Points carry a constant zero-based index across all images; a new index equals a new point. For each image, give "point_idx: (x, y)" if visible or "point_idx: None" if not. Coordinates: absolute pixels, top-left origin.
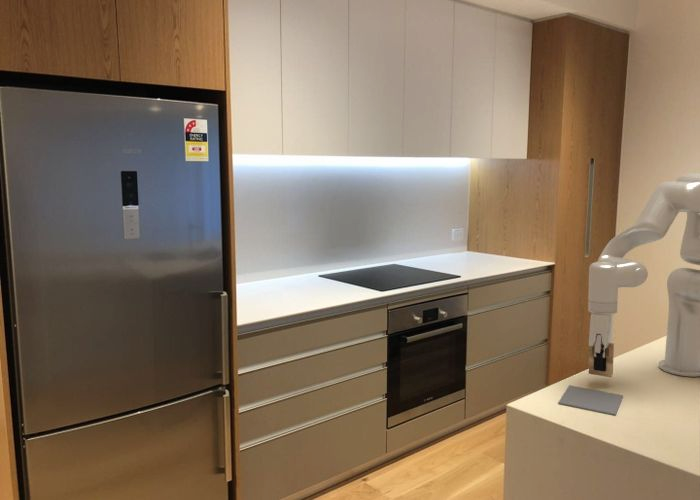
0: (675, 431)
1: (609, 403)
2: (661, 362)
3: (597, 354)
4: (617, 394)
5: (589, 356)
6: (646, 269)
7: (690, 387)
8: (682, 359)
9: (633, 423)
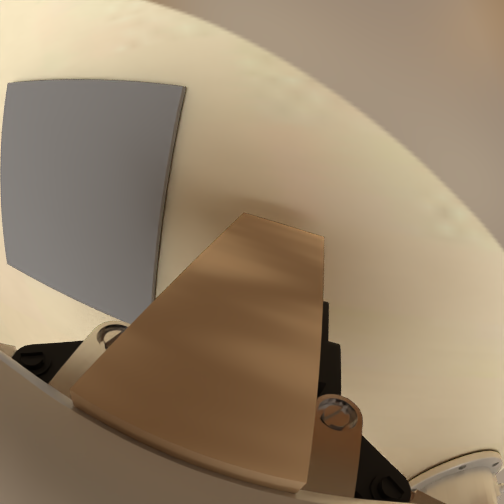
0: None
1: (54, 261)
2: (487, 461)
3: (63, 360)
4: None
5: (185, 275)
6: None
7: None
8: None
9: (8, 295)
